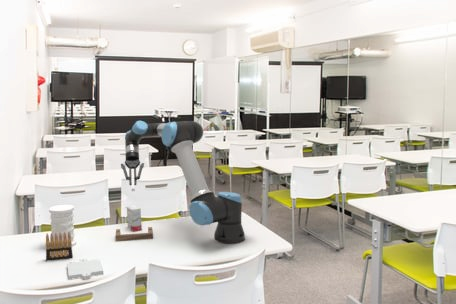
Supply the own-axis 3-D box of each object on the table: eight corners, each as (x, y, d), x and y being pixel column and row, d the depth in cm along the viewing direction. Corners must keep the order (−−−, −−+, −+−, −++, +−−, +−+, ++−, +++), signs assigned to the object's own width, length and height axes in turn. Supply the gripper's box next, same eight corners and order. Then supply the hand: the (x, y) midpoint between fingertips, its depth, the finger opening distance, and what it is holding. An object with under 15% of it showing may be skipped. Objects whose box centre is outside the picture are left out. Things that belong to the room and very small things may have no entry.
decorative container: (45, 244, 204) (43, 207, 202) (69, 238, 213) (67, 203, 210) (57, 250, 196) (55, 212, 194) (80, 244, 205) (79, 207, 202)
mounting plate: (66, 265, 181) (66, 261, 181) (98, 261, 186) (98, 256, 186) (69, 283, 165) (69, 278, 165) (104, 277, 170) (104, 273, 170)
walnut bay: (153, 238, 213) (153, 233, 213) (115, 241, 209) (115, 236, 209) (152, 231, 224) (152, 226, 223) (116, 233, 220) (116, 229, 220)
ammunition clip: (46, 260, 185) (44, 234, 183) (46, 259, 187) (45, 232, 185) (72, 258, 188) (71, 231, 186) (72, 256, 190) (71, 230, 188)
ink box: (142, 230, 226) (141, 208, 224) (132, 232, 223) (132, 209, 221) (135, 225, 233) (135, 204, 231) (126, 227, 230) (126, 206, 229)
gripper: (143, 158, 250) (145, 192, 237) (120, 158, 247) (120, 194, 234) (143, 150, 244) (145, 185, 231) (120, 150, 242) (120, 186, 228)
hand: (133, 189), depth 232 cm, fingers closed
